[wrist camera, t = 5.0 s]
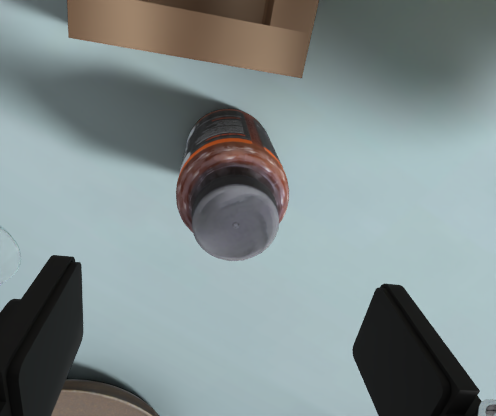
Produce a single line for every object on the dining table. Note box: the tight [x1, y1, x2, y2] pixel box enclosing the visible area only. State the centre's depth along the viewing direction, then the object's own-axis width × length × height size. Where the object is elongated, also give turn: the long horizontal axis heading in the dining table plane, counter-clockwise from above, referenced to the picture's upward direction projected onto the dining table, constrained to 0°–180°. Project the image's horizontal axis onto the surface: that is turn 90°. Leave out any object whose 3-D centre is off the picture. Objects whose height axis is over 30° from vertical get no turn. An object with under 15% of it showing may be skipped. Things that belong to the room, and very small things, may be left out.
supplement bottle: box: [176, 109, 289, 261], centre depth 21 cm, size 6×6×11 cm
